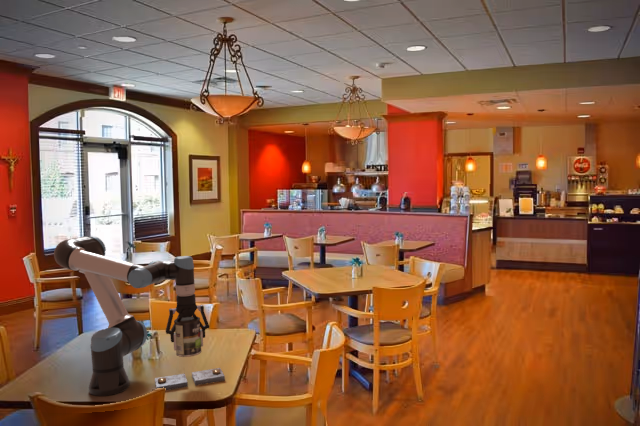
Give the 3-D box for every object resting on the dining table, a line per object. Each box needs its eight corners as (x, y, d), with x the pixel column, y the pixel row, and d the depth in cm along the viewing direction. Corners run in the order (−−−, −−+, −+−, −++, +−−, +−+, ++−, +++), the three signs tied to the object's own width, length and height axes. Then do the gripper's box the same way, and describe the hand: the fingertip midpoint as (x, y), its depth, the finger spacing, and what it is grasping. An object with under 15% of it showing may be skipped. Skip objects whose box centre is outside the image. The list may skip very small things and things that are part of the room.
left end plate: (156, 392, 209) (156, 384, 209) (154, 382, 218) (154, 375, 218) (187, 386, 213) (187, 379, 213) (184, 378, 222) (184, 371, 222)
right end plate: (195, 385, 214) (194, 378, 214) (191, 376, 224) (191, 370, 223) (224, 380, 219) (224, 373, 218) (220, 372, 228) (219, 365, 228)
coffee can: (205, 349, 221) (204, 316, 220) (195, 357, 211) (193, 323, 210) (183, 348, 223) (181, 315, 222) (171, 356, 213) (169, 322, 212)
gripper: (157, 299, 208) (160, 354, 210) (215, 292, 216) (217, 346, 218) (156, 295, 215) (159, 349, 217) (211, 289, 223) (214, 340, 225)
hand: (188, 347), depth 217 cm, fingers closed on coffee can, 10 cm apart
